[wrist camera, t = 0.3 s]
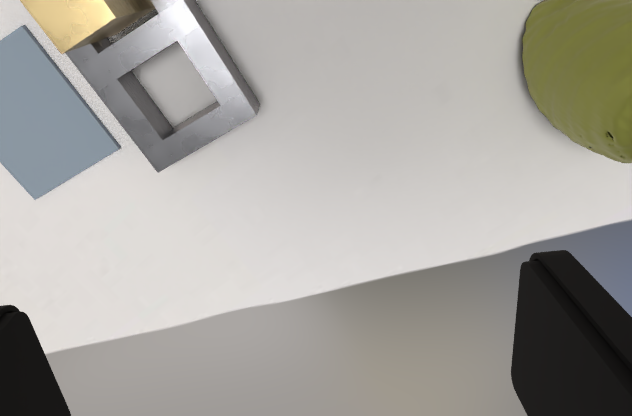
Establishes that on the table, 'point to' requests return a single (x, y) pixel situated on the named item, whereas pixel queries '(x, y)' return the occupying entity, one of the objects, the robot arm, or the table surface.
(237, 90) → the cinder block
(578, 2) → the green knotted bag
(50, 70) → the rubber pad
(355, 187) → the table surface
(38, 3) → the brass plug
